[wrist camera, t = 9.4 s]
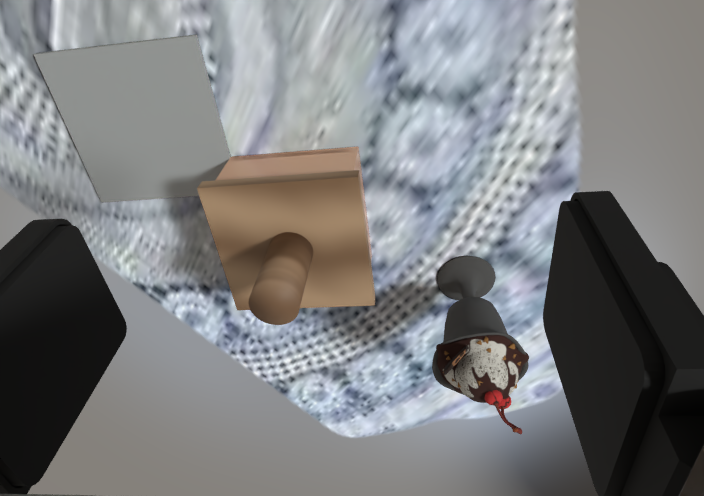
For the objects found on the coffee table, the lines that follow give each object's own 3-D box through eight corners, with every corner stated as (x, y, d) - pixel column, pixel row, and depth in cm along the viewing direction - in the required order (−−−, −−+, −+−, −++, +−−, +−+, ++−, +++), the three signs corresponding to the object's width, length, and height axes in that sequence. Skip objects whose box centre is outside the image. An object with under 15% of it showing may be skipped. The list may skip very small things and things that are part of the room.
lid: (201, 181, 35) (162, 237, 29) (359, 169, 34) (349, 227, 28) (240, 301, 41) (214, 367, 36) (375, 296, 40) (370, 364, 34)
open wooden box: (230, 156, 39) (210, 187, 35) (358, 146, 38) (352, 177, 34) (259, 260, 45) (245, 297, 41) (371, 254, 44) (368, 292, 40)
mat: (36, 53, 36) (33, 54, 36) (196, 34, 34) (194, 35, 34) (103, 200, 43) (101, 202, 43) (240, 190, 41) (239, 193, 41)
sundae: (511, 299, 45) (550, 451, 33) (436, 312, 47) (447, 461, 35) (500, 239, 42) (539, 384, 29) (419, 256, 43) (425, 399, 31)
